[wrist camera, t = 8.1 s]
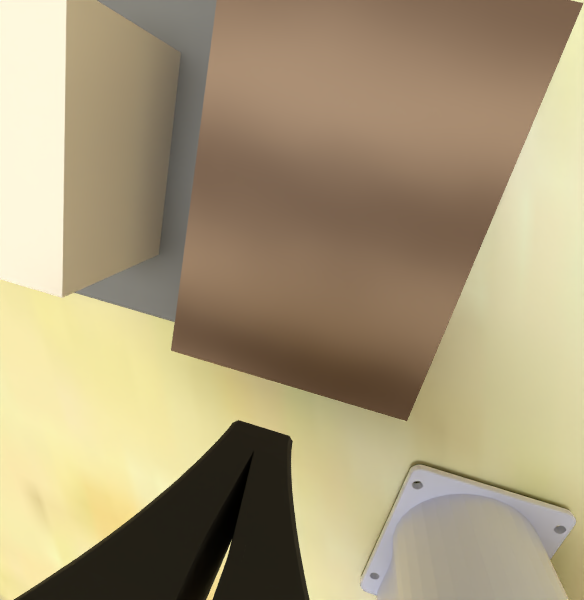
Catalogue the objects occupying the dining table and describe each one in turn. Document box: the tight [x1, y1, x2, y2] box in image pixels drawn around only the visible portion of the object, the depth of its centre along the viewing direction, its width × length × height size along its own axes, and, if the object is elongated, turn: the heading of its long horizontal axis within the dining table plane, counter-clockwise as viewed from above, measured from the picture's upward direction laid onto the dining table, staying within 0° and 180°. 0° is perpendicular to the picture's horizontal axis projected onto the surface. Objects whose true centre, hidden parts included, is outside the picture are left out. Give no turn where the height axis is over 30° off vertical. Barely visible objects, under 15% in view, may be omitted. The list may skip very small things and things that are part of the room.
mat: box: [74, 0, 217, 322], centre depth 16 cm, size 14×12×1 cm
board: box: [171, 0, 583, 421], centre depth 14 cm, size 14×10×3 cm
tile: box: [0, 0, 181, 298], centre depth 13 cm, size 8×6×2 cm
